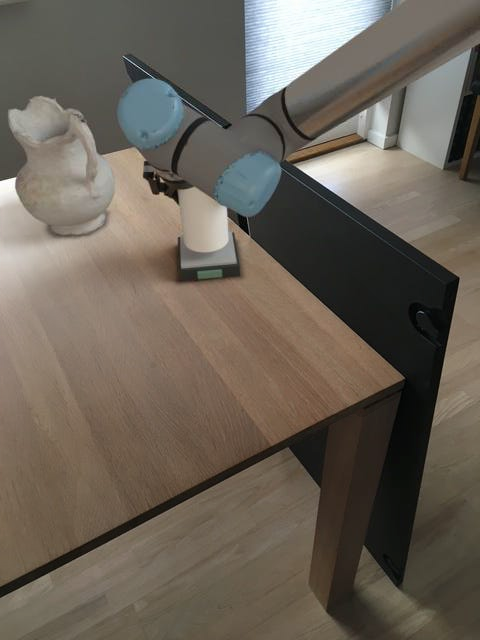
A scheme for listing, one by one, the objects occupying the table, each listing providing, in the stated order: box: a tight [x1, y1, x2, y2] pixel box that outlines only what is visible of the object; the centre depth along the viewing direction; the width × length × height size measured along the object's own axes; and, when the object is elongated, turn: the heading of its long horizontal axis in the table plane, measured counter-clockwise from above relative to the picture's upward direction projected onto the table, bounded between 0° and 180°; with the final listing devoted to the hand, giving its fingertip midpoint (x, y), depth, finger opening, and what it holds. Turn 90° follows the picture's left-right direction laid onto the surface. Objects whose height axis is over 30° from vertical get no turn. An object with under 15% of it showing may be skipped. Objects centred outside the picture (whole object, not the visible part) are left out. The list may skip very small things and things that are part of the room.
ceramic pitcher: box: [7, 95, 116, 236], centre depth 106 cm, size 22×20×25 cm
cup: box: [177, 187, 229, 252], centre depth 93 cm, size 8×8×16 cm
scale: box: [177, 230, 241, 282], centre depth 101 cm, size 11×12×3 cm
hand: (206, 200), depth 97 cm, fingers closed on cup, 8 cm apart
